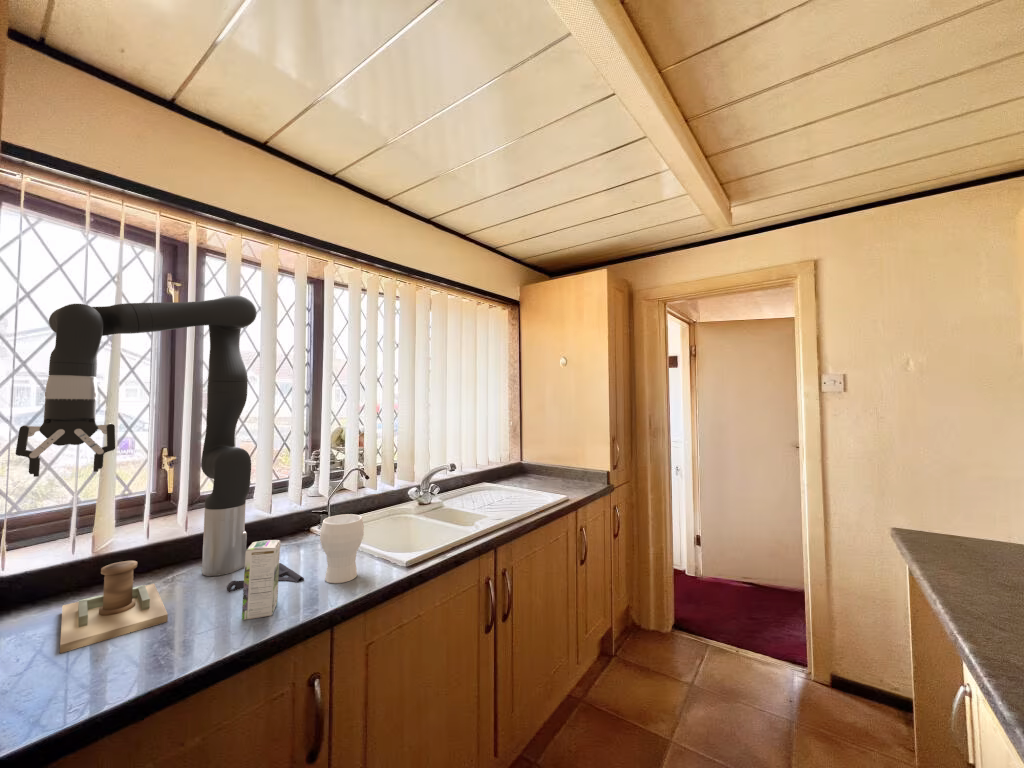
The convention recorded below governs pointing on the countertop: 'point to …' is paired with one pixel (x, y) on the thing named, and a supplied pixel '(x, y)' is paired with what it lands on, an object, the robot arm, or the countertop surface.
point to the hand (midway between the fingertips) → (66, 473)
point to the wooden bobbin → (118, 588)
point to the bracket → (282, 572)
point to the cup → (341, 546)
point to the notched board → (109, 618)
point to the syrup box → (261, 579)
